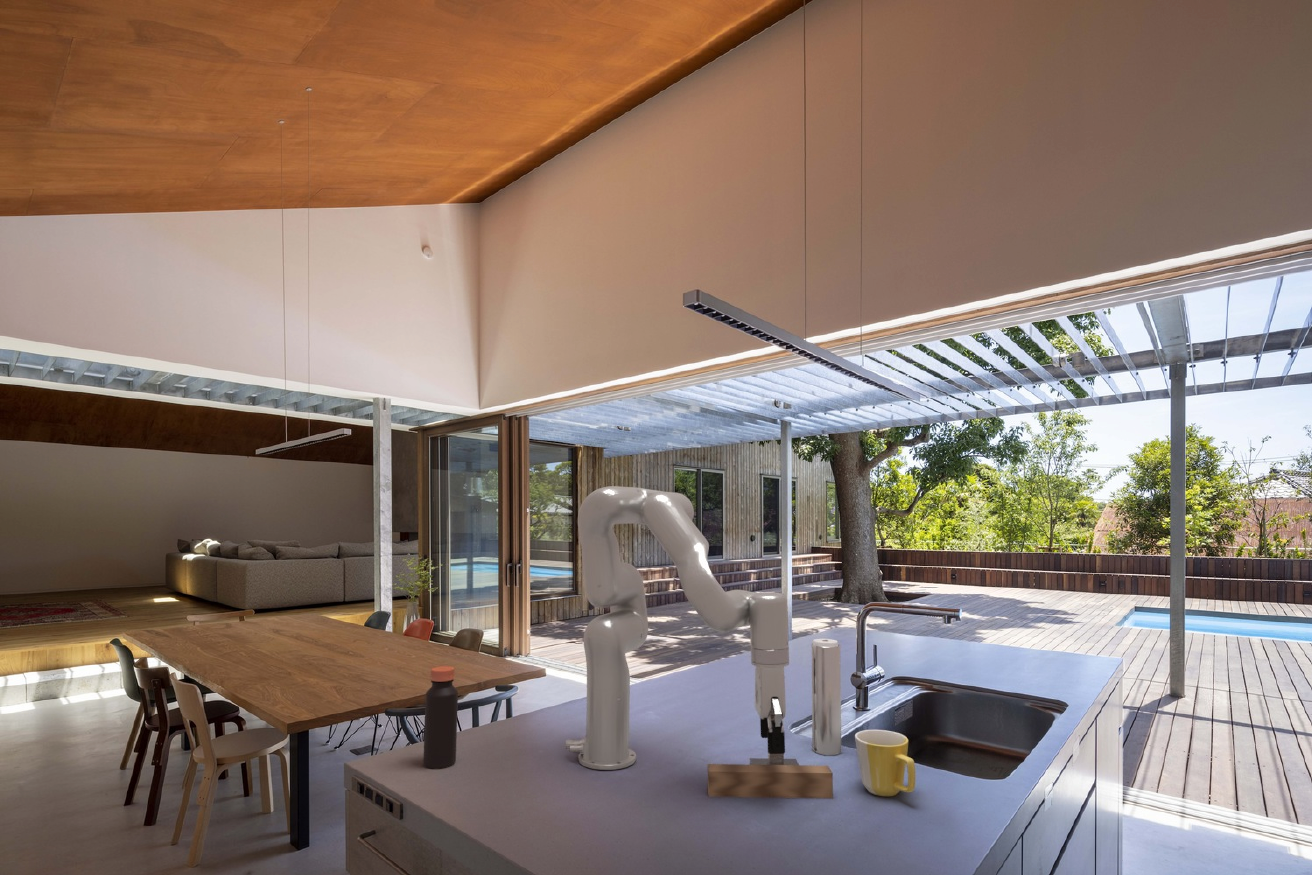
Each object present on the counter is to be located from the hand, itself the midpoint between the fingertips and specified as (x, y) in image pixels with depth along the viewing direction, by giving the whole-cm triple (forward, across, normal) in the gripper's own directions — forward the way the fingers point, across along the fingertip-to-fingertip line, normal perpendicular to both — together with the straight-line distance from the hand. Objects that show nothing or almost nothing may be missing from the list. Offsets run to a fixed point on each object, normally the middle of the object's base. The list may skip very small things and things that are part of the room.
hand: (772, 745), depth 145 cm
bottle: (+7, -14, -70) cm, 72 cm away
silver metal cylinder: (+10, -25, +16) cm, 32 cm away
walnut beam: (+10, 0, -1) cm, 10 cm away
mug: (+10, 0, +22) cm, 24 cm away
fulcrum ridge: (+9, -11, +2) cm, 15 cm away
